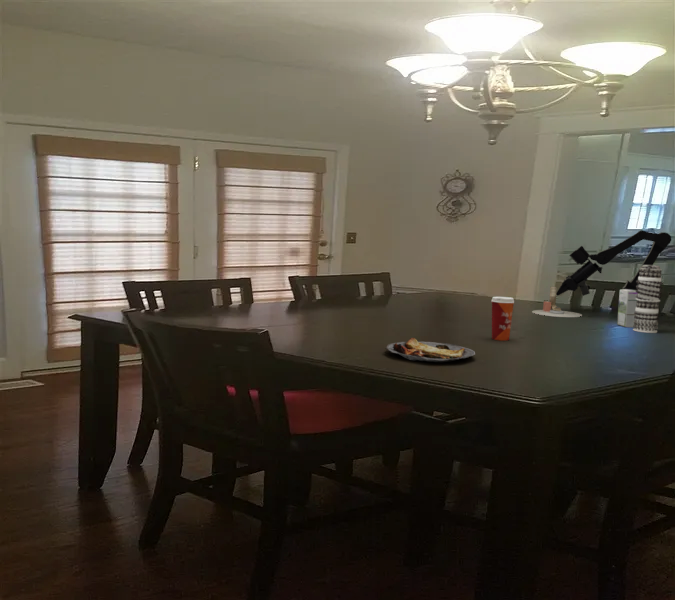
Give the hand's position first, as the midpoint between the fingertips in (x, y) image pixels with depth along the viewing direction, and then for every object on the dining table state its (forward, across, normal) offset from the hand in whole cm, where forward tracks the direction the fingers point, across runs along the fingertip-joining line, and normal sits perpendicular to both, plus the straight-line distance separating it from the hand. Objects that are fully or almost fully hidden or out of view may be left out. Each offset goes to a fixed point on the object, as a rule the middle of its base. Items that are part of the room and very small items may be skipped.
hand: (556, 294), depth 299 cm
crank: (+4, -5, -4) cm, 8 cm away
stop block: (+8, -5, -3) cm, 10 cm away
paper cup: (+14, -92, +5) cm, 93 cm away
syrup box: (-15, -32, -25) cm, 44 cm away
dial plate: (+4, -10, -6) cm, 13 cm away
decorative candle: (-19, -42, -29) cm, 55 cm away
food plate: (+25, -132, +16) cm, 135 cm away
